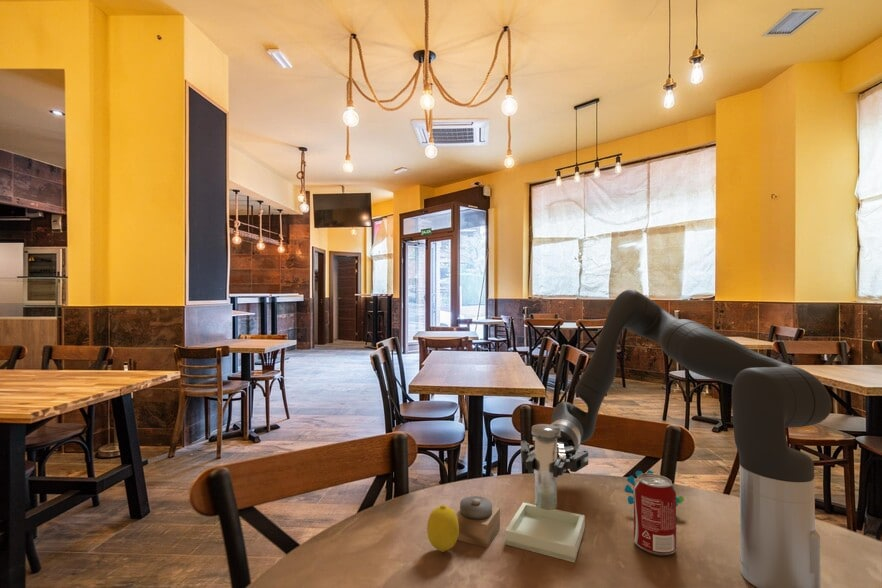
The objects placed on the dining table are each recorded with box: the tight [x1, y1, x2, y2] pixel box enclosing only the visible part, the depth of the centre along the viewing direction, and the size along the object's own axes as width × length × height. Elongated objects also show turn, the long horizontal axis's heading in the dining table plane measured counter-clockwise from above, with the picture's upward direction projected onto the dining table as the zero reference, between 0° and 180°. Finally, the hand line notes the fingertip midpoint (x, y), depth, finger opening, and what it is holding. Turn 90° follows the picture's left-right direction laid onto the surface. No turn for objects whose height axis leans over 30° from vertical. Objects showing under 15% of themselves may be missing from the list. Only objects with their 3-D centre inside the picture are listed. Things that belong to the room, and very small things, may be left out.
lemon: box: [426, 504, 459, 553], centre depth 75 cm, size 6×6×8 cm
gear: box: [624, 469, 685, 508], centre depth 90 cm, size 11×6×10 cm
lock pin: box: [531, 423, 560, 510], centre depth 80 cm, size 5×5×14 cm
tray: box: [504, 502, 586, 563], centre depth 80 cm, size 12×12×2 cm
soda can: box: [632, 472, 677, 557], centre depth 76 cm, size 7×7×12 cm
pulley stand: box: [454, 495, 501, 549], centre depth 80 cm, size 7×7×6 cm
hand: (542, 469), depth 78 cm, fingers closed on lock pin, 4 cm apart
